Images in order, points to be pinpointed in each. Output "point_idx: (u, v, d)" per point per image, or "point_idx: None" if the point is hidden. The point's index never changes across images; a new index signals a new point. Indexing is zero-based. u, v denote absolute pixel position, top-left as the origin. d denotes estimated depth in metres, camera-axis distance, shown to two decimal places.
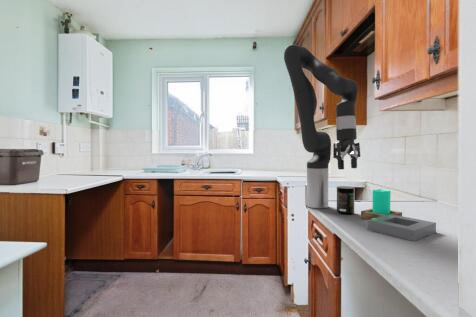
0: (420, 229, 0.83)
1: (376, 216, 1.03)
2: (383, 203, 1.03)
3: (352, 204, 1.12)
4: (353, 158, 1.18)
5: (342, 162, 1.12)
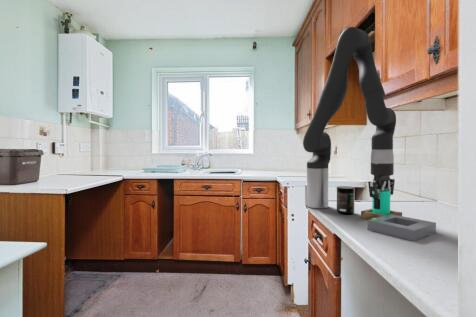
0: (420, 229, 0.83)
1: (376, 216, 1.03)
2: (383, 203, 1.03)
3: (352, 204, 1.12)
4: None
5: (379, 202, 1.04)
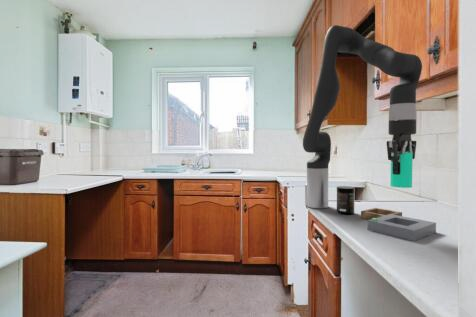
0: (420, 229, 0.83)
1: (376, 216, 1.03)
2: (404, 167, 0.87)
3: (352, 204, 1.12)
4: None
5: (399, 165, 0.87)
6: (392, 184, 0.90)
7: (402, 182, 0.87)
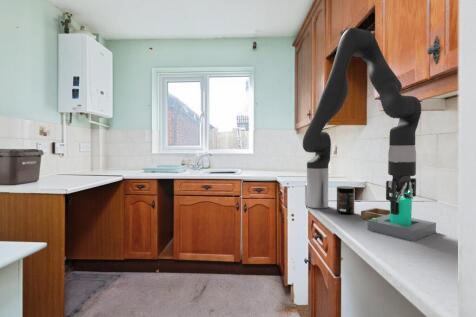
0: (420, 229, 0.83)
1: (376, 216, 1.03)
2: (404, 214, 0.88)
3: (352, 204, 1.12)
4: None
5: (397, 206, 0.87)
6: None
7: None
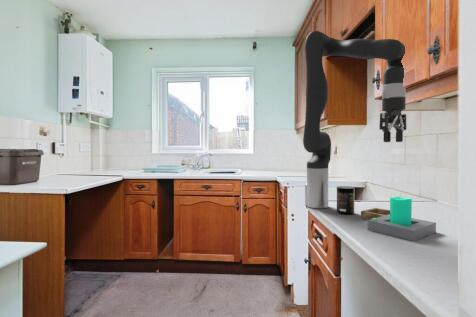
0: (420, 229, 0.83)
1: (376, 216, 1.03)
2: (404, 214, 0.88)
3: (352, 204, 1.12)
4: (399, 131, 1.08)
5: (389, 134, 1.02)
6: None
7: None
